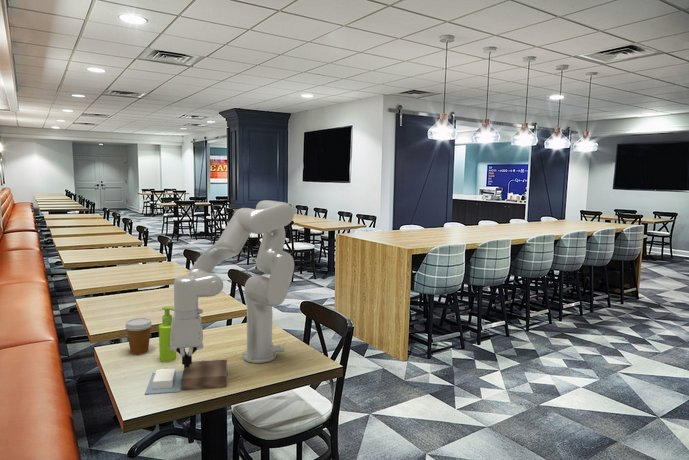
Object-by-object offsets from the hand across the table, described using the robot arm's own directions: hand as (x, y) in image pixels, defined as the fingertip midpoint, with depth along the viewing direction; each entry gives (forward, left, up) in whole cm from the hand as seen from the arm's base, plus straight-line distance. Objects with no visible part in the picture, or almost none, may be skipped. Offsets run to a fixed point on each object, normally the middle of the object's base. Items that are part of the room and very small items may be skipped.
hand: (187, 366), depth 159 cm
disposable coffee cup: (+20, -29, -6) cm, 35 cm away
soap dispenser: (+8, -20, -6) cm, 22 cm away
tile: (+7, 0, -3) cm, 8 cm away
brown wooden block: (-6, 0, -5) cm, 8 cm away
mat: (+7, 0, -5) cm, 9 cm away
